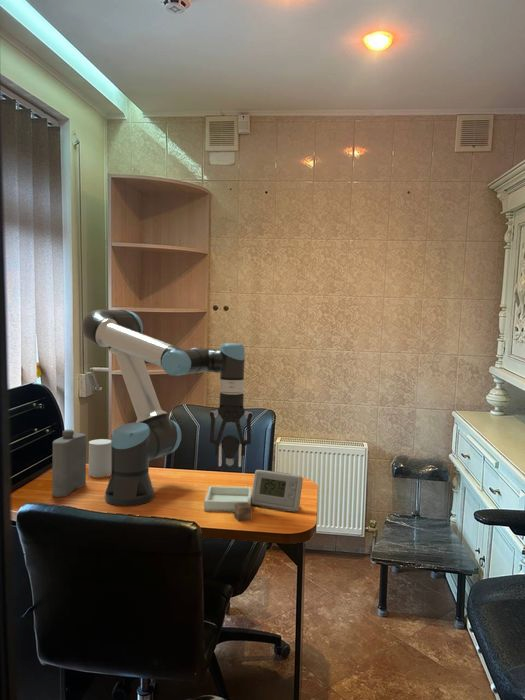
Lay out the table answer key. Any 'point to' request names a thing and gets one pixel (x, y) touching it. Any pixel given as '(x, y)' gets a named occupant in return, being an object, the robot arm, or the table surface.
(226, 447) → the light bulb
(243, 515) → the walnut block
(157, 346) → the robot arm
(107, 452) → the cup
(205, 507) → the tray
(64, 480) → the flask
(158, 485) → the table surface
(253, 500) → the digital clock
